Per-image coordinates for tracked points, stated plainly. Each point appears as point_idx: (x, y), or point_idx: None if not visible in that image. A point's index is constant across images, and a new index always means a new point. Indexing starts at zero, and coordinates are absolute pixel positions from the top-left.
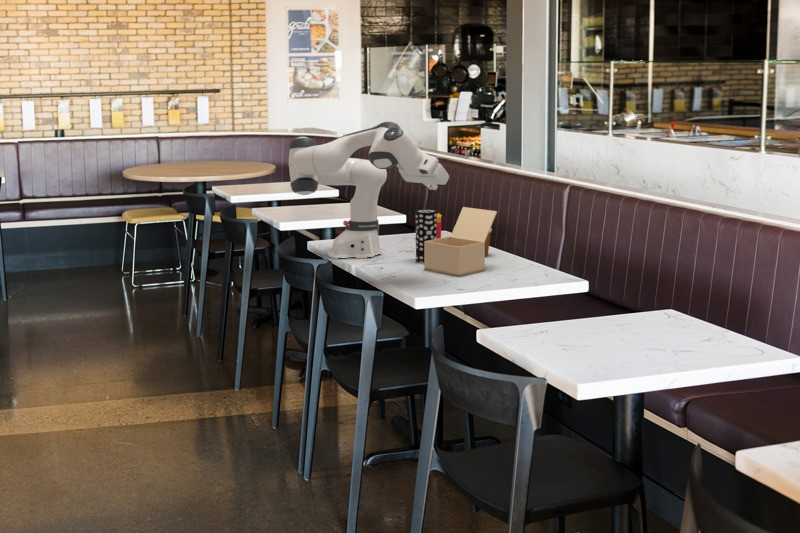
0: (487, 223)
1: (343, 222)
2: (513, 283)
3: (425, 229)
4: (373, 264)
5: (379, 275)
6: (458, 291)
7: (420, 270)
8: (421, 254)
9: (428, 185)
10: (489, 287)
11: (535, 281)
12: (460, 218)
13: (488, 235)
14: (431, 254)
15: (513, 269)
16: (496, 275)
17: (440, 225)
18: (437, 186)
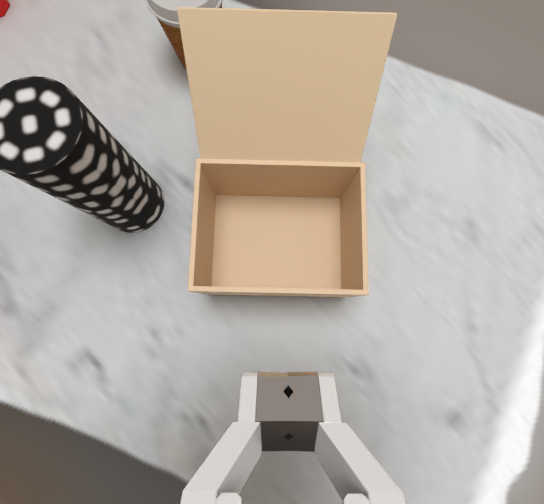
0: (358, 87)
1: None
2: (499, 264)
3: (102, 192)
4: (37, 339)
5: (157, 443)
6: (468, 442)
7: (204, 308)
8: (129, 225)
9: (255, 460)
10: (491, 344)
11: (521, 209)
12: (201, 78)
13: (221, 3)
14: (230, 293)
15: (384, 135)
16: (402, 219)
17: None
18: (334, 379)
